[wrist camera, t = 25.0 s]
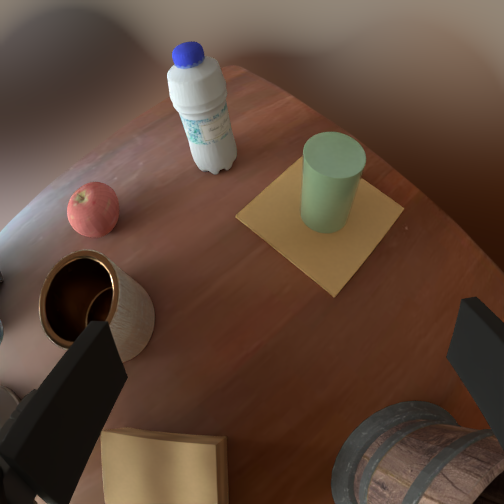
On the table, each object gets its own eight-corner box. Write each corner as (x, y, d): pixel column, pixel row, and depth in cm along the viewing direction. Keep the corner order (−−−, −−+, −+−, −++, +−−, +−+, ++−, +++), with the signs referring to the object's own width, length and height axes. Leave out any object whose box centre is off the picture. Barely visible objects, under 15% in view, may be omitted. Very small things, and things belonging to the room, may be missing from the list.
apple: (83, 252, 41) (53, 225, 34) (87, 209, 45) (61, 179, 37) (128, 240, 41) (101, 209, 34) (128, 197, 45) (106, 163, 37)
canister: (289, 213, 40) (290, 154, 30) (319, 183, 42) (327, 123, 32) (329, 243, 38) (343, 189, 28) (358, 210, 40) (377, 153, 30)
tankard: (361, 553, 22) (416, 646, 4) (306, 448, 29) (337, 514, 11) (513, 444, 24) (623, 443, 6) (472, 344, 31) (587, 290, 13)
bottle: (215, 187, 44) (178, 66, 26) (186, 164, 46) (144, 52, 28) (249, 159, 45) (231, 38, 27) (218, 139, 48) (192, 27, 30)
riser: (131, 513, 26) (108, 528, 20) (126, 426, 31) (100, 430, 26) (229, 528, 25) (220, 549, 20) (227, 436, 30) (216, 444, 25)
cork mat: (235, 217, 41) (235, 215, 41) (312, 148, 45) (312, 146, 45) (334, 297, 36) (335, 296, 35) (403, 210, 40) (404, 208, 39)
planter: (77, 296, 38) (34, 269, 30) (145, 268, 39) (111, 232, 31) (92, 374, 34) (44, 363, 25) (168, 348, 35) (132, 332, 26)
